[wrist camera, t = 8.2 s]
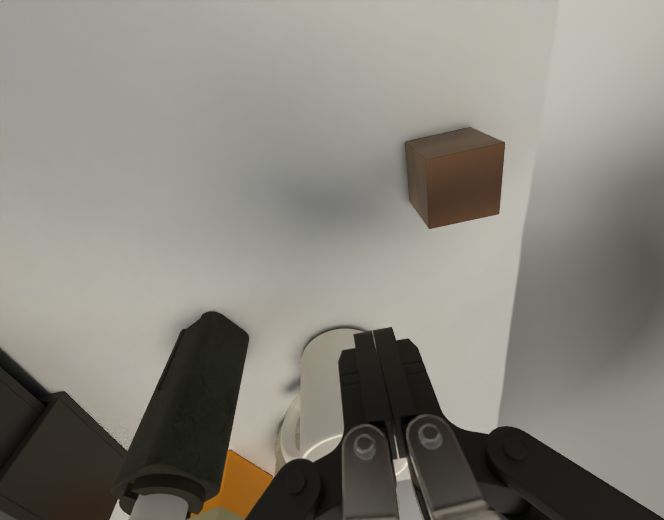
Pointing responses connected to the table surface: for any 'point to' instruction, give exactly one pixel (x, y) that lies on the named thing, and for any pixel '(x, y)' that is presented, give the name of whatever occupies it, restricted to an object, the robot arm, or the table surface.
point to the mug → (320, 401)
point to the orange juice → (235, 491)
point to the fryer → (61, 467)
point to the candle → (185, 425)
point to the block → (455, 176)
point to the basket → (15, 415)
